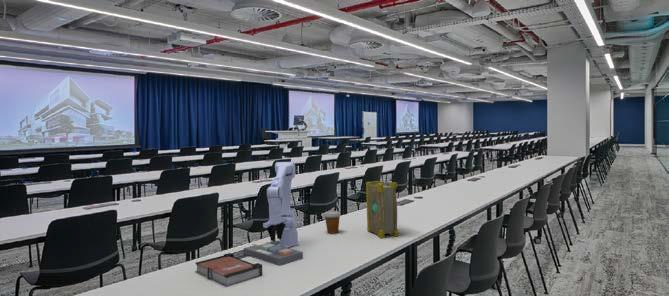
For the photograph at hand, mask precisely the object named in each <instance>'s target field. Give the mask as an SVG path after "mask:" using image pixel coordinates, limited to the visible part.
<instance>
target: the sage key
mask: <svg viewBox="0 0 669 296" xmlns="http://www.w3.org/2000/svg"><path fill="white" fill-rule="evenodd" d="M272 244H273V243H272ZM272 244H267V245H263V246H261V249H262V250H265V251H269V248H272V247H275V245H276V244H275V245H272Z"/></svg>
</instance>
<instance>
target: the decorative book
mask: <svg viewBox="0 0 669 296" xmlns="http://www.w3.org/2000/svg"><path fill="white" fill-rule="evenodd" d="M386 182H387V181H386ZM365 185H366V186H365V188H366V189H365V190H366V192H365V193H366V228H367V232H368V233H374V234H375V235H376V236H377V237H378V238H379V239H385V234H391V236H393V237H396V238H397V237H399V236H400V235H399V233H400V232H399V231H398V200H397V193H396V190H397V188H398V182H395V181H393V182H392V181H388V182H387V183H385V182H383V181H382V180H380V181H379V180H378V181H366V182H365Z"/></svg>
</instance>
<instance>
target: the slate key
mask: <svg viewBox="0 0 669 296" xmlns="http://www.w3.org/2000/svg"><path fill="white" fill-rule="evenodd" d="M282 249H284V248H283V247H279V246H276V247H272V248H269V250H270V252H272V253H278V251H279V250H282Z"/></svg>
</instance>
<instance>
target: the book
mask: <svg viewBox="0 0 669 296" xmlns="http://www.w3.org/2000/svg"><path fill="white" fill-rule="evenodd" d="M194 263H195V265H196V270H195V272H196V273H197V274H199V275H201V276H203V277H205V278H207V279H208V280H212V281H214V282H216V283H218V284H221V285H222V286H224V287H227V288H228V287H230V286H233V285H236V284H239V283H243V282H245V281H249V280H251V279H253V280H254V279H256V278H258V277H262V276H263V264H261V263H259V262H257V263H252V262H249V261H247V260H244V259H241V258H238V257H236V256H235V255H234V253H231V252H228V253H224V254H223V255H219V256H216V257H213V258H208V259H204V260H200V261H196V262H194Z"/></svg>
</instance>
